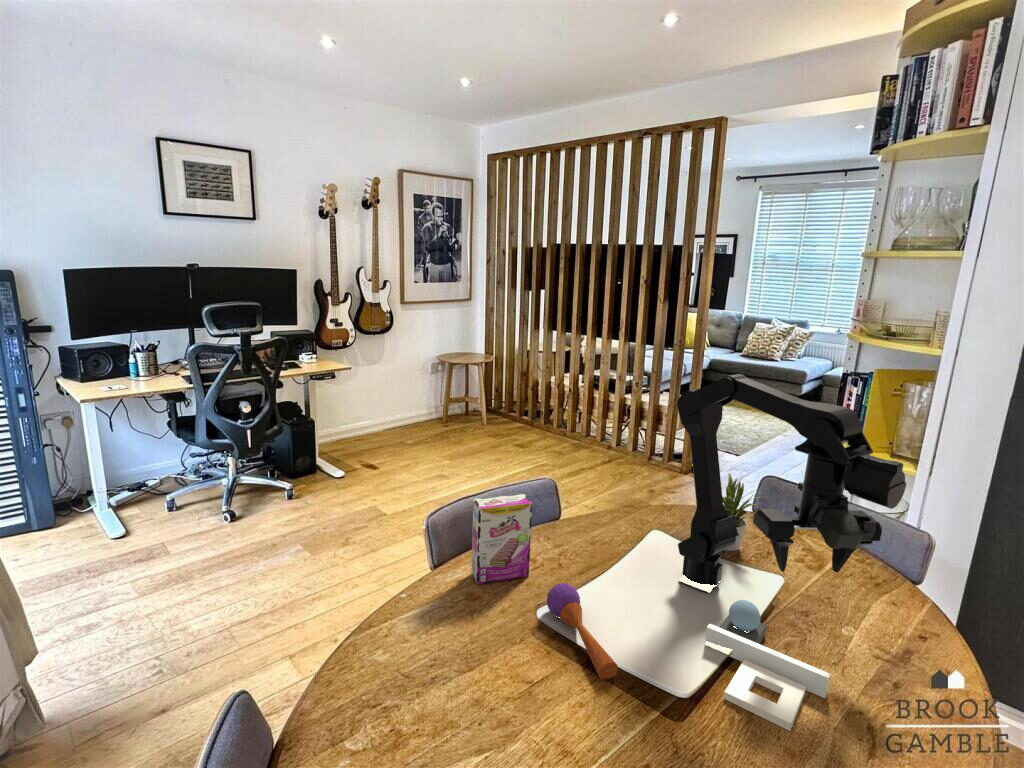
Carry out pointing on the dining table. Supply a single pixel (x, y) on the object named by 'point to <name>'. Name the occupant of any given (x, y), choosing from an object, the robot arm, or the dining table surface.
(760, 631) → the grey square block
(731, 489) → the house plant
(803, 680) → the divider wall
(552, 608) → the kendama
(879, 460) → the robot arm
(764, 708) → the white rectangular frame
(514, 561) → the candy bar box
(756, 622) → the ball
